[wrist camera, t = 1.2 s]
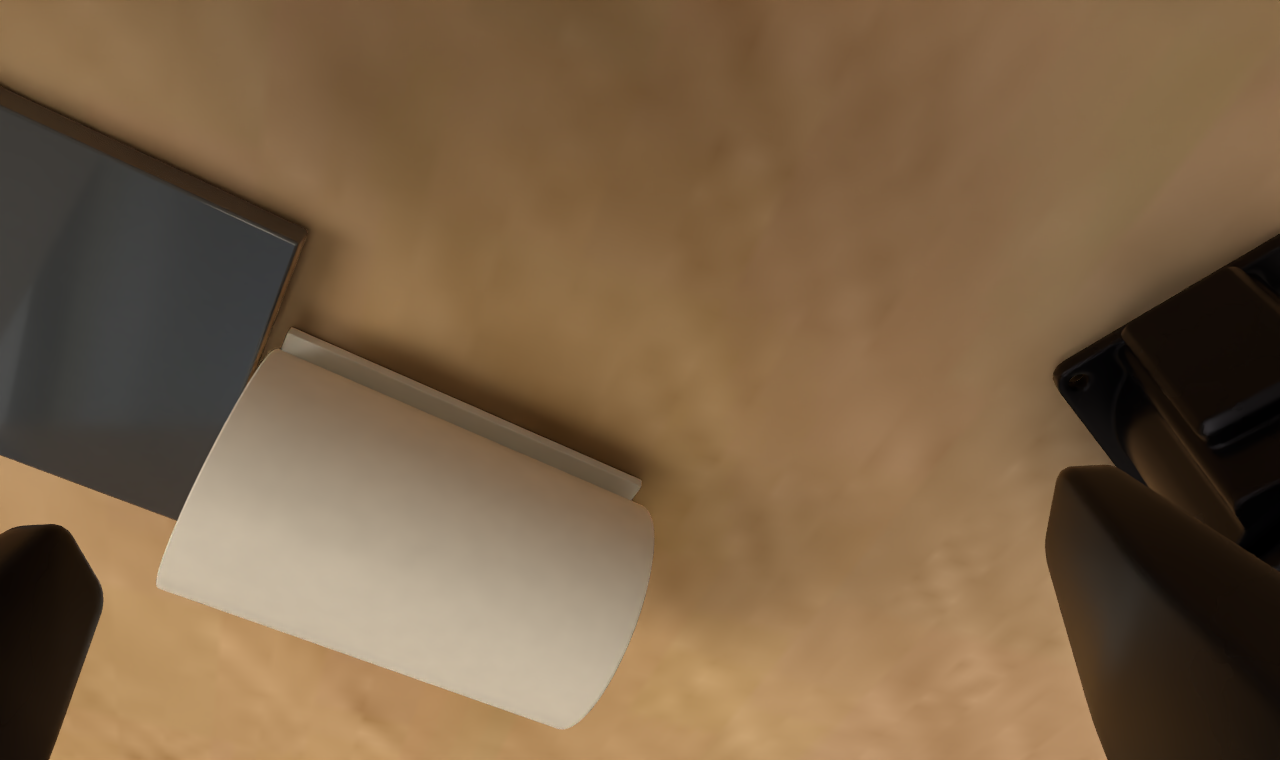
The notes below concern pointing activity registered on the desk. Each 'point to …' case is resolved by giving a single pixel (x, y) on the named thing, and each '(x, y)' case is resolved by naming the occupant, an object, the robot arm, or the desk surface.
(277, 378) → the cylinder
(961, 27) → the desk surface
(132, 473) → the slate coaster
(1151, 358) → the robot arm
